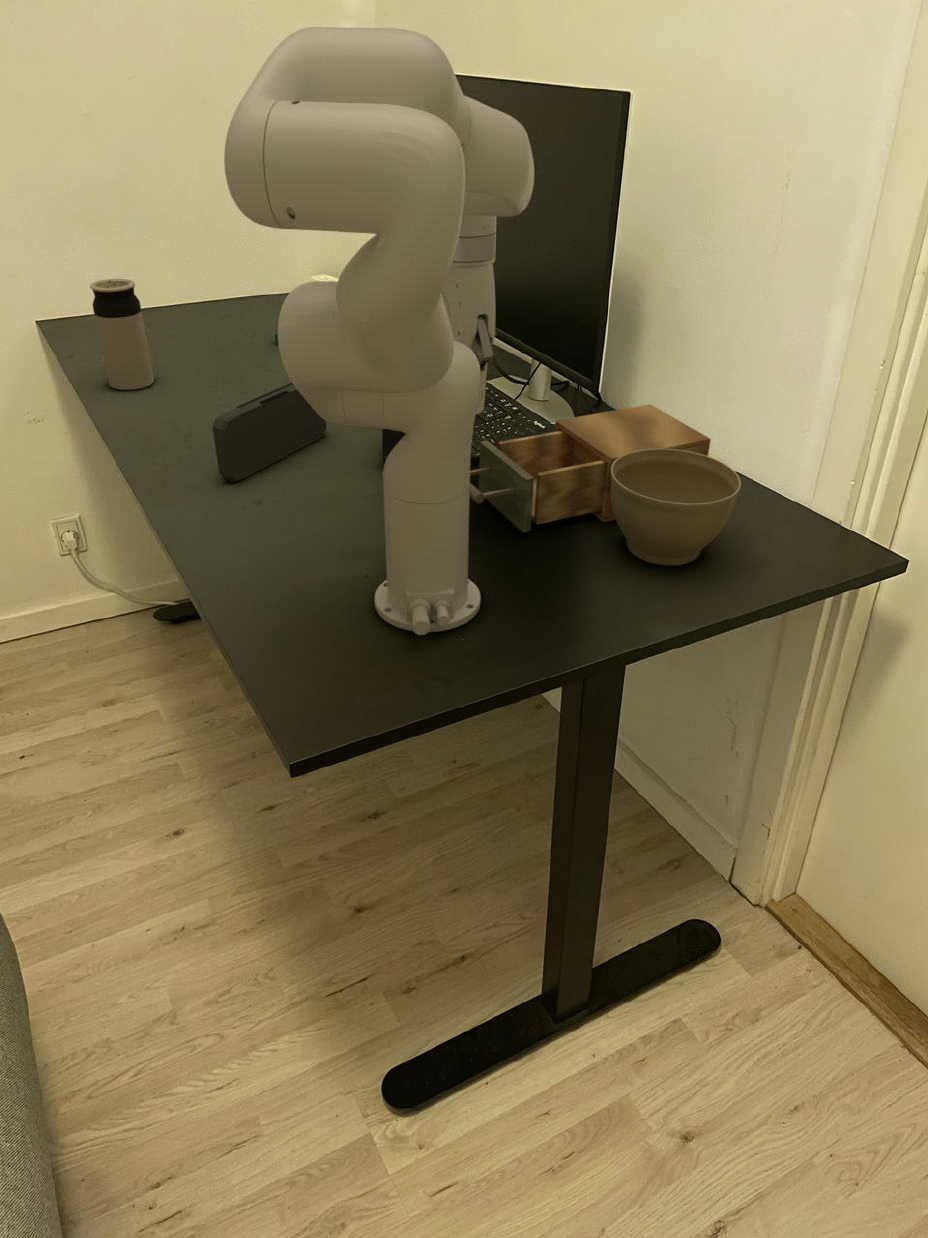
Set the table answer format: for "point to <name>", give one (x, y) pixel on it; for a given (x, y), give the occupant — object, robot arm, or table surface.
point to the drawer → (540, 478)
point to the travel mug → (122, 334)
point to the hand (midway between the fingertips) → (462, 394)
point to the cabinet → (630, 438)
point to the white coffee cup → (483, 381)
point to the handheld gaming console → (264, 432)
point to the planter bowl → (671, 502)
